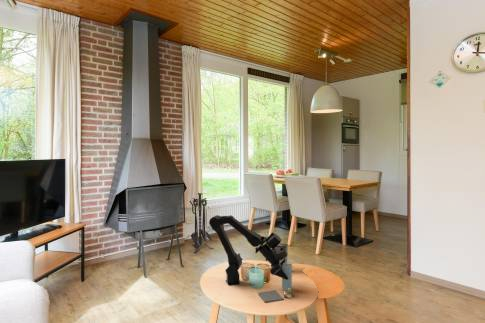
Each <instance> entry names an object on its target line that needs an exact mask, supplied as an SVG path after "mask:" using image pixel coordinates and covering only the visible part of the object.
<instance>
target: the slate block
mask: <svg viewBox="0 0 485 323" xmlns="http://www.w3.org/2000/svg"><path fill="white" fill-rule="evenodd" d="M282 267H283V271H284V273H285V274H286V275H287V277H288V280H286V279H284V278H281V290H282V291H284V292H286V291H287V292H288V289H289V288H291V289H292V287H293V286H292V285H293V283H292V282H293V273H292V272H293V263H290V262H287V263H283V265H282Z"/></svg>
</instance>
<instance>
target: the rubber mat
mask: <svg viewBox="0 0 485 323" xmlns="http://www.w3.org/2000/svg"><path fill="white" fill-rule="evenodd" d="M257 294H258V296H259V297H260V299H261V300H262V301H263V302H264V303H271V302H272V303H273V302H278V301H279V302H280V301H284V299H285V298H284V297H283V296H282V295H281V294H280V293H279V292H278V291H277V290H275V289H274V290H266V291H258V292H257Z"/></svg>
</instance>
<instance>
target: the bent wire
mask: <svg viewBox="0 0 485 323" xmlns="http://www.w3.org/2000/svg"><path fill="white" fill-rule="evenodd" d="M288 296H291V297H292V298H294V297H295V292H294V291H293V290H292V288H289V289H288V291H287V292H286V291H284V292H283V299H287V298H288Z"/></svg>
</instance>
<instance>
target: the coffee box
mask: <svg viewBox="0 0 485 323" xmlns="http://www.w3.org/2000/svg"><path fill="white" fill-rule="evenodd" d="M281 247H283V248H285V249H286V250H287V251H288V243H282V242H280V243H279V244H278V245H277V246H276V247H275V248H271V249H272V250H273V251H276V252H278V251H280V248H281ZM285 258H286V259H285V263H288V256H287V257H285ZM283 259H284V258H283Z"/></svg>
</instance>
